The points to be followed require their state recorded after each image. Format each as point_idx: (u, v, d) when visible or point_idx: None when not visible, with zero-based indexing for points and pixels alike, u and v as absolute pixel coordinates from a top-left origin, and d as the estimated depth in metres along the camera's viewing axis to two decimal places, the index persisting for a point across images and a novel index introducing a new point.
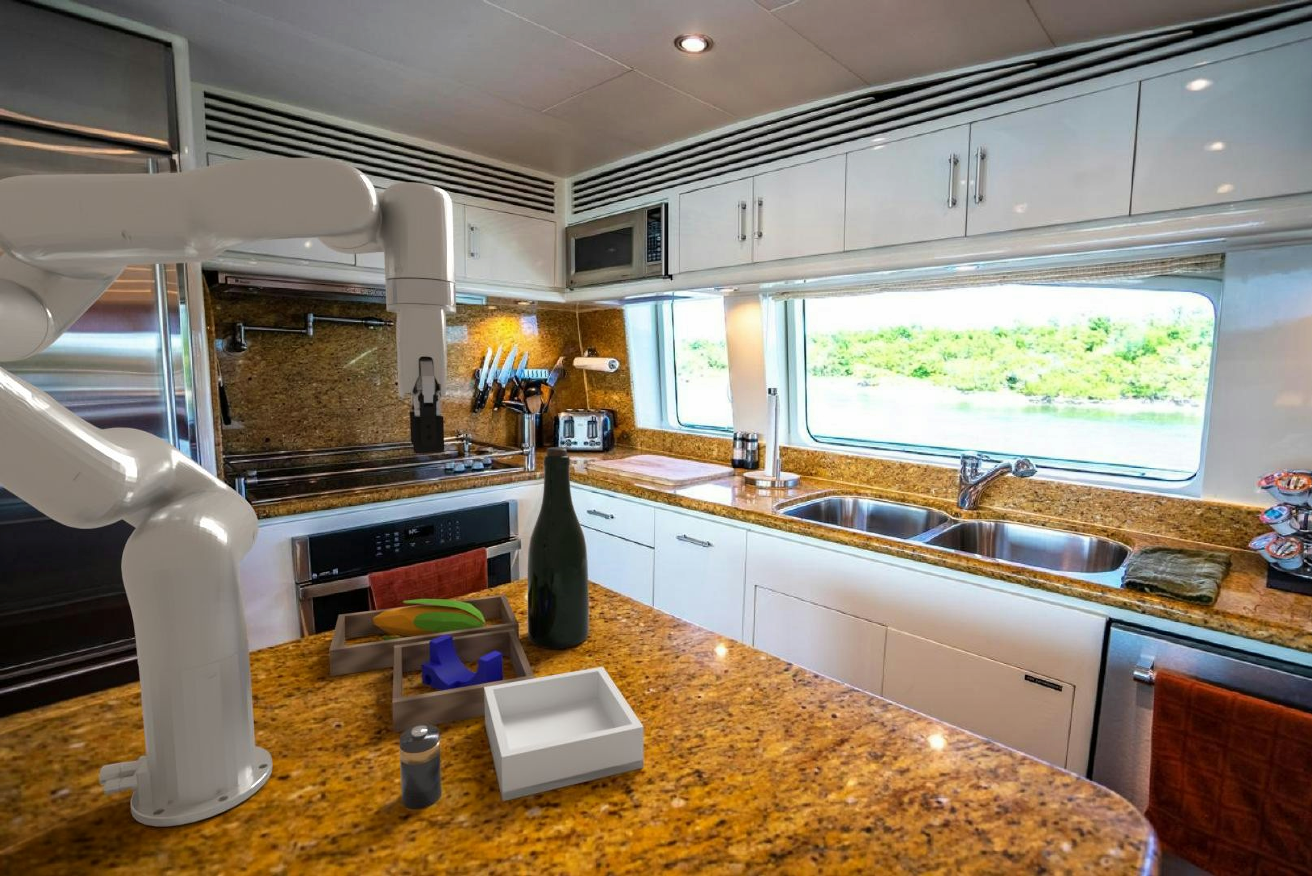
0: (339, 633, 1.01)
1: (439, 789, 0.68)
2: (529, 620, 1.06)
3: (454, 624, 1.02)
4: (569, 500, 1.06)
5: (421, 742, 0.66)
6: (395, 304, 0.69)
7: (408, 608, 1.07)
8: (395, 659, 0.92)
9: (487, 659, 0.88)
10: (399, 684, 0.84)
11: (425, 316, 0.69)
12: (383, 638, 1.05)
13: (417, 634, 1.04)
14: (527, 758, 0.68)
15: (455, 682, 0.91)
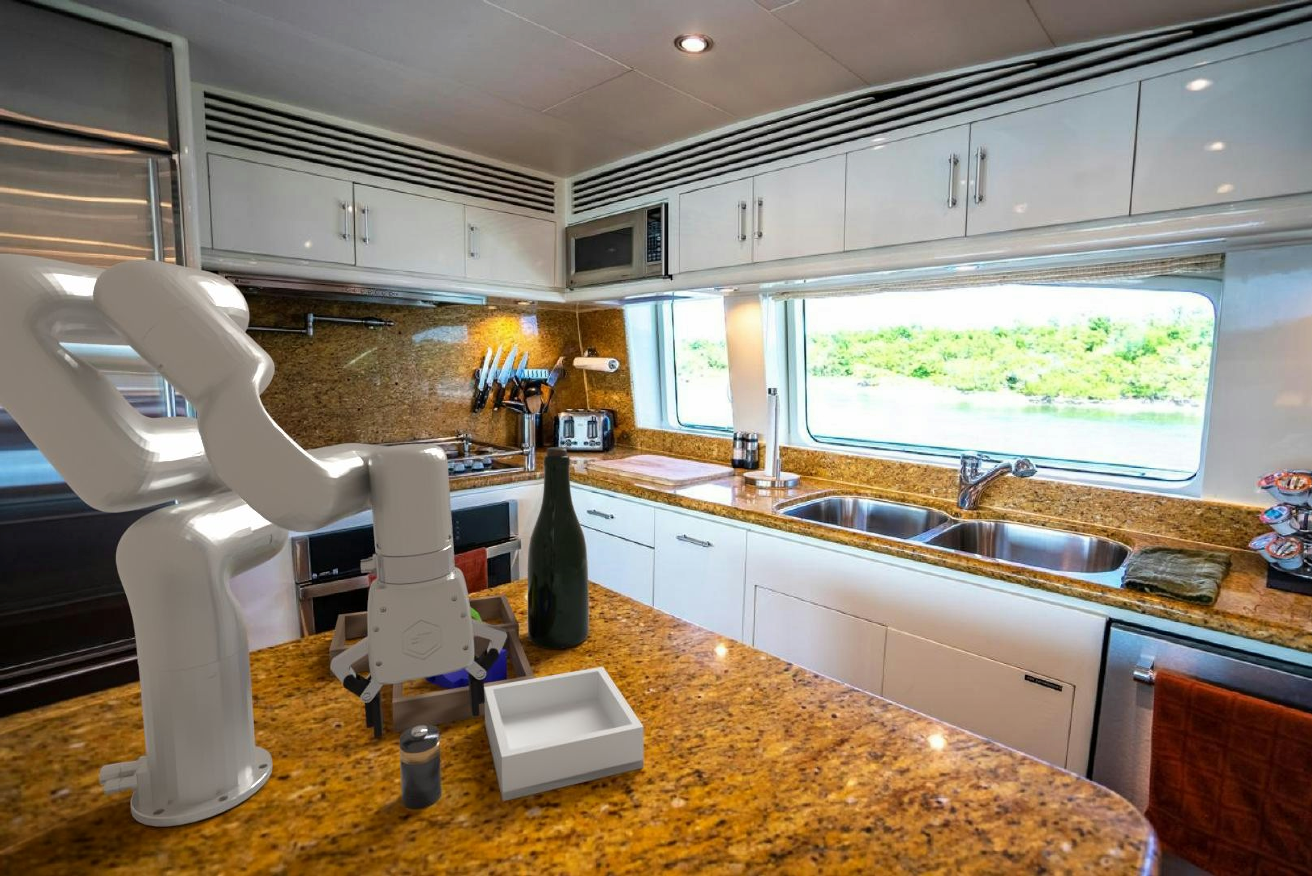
0: (339, 633, 1.01)
1: (439, 789, 0.68)
2: (529, 620, 1.06)
3: None
4: (569, 500, 1.06)
5: (421, 742, 0.66)
6: (441, 576, 0.64)
7: None
8: None
9: None
10: (399, 684, 0.84)
11: None
12: None
13: None
14: (527, 758, 0.68)
15: (459, 680, 0.91)
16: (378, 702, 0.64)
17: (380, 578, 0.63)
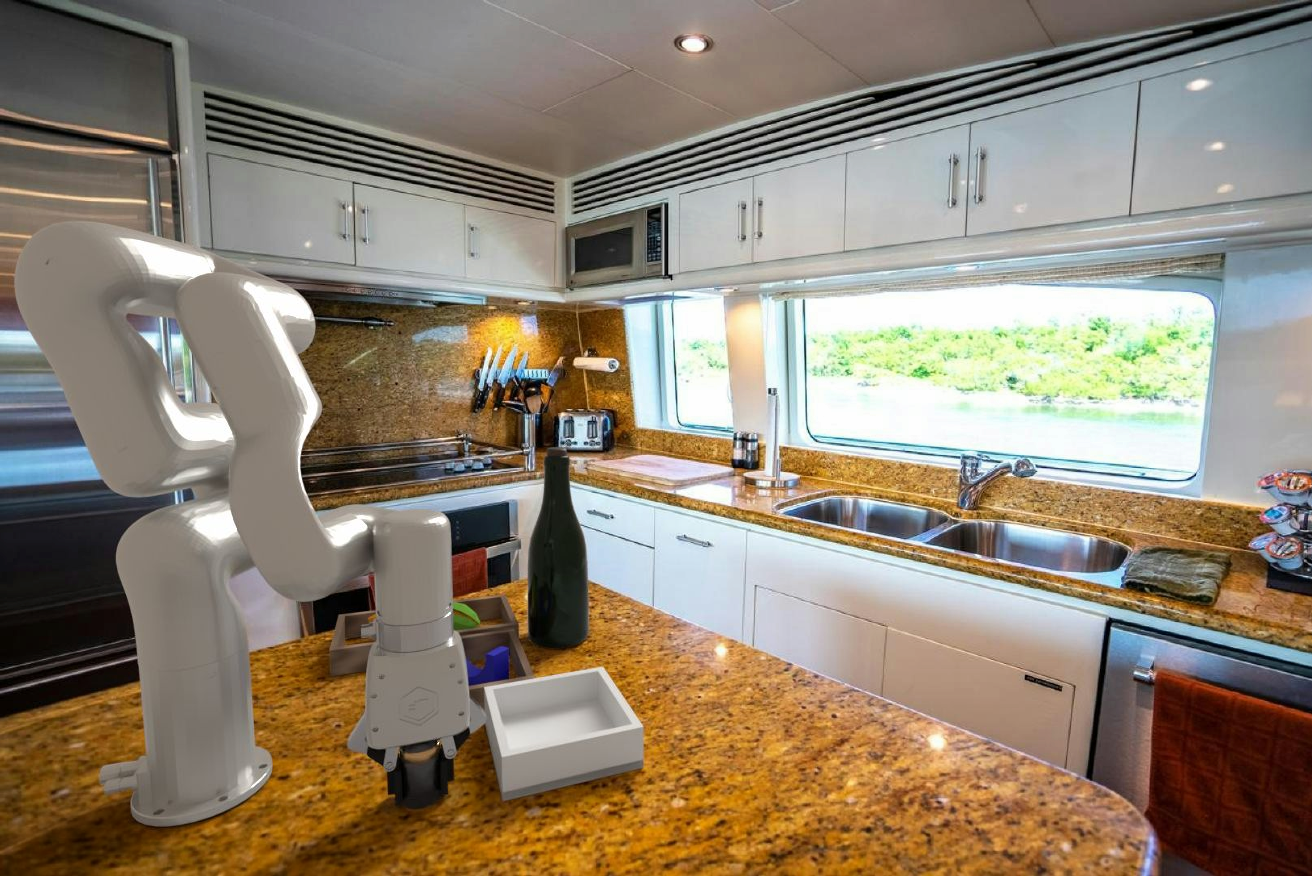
0: (339, 633, 1.01)
1: (439, 789, 0.68)
2: (529, 620, 1.06)
3: None
4: (569, 500, 1.06)
5: (421, 742, 0.66)
6: (440, 644, 0.65)
7: None
8: None
9: (494, 654, 0.89)
10: None
11: None
12: None
13: None
14: (527, 758, 0.68)
15: None
16: (400, 771, 0.66)
17: (380, 644, 0.64)
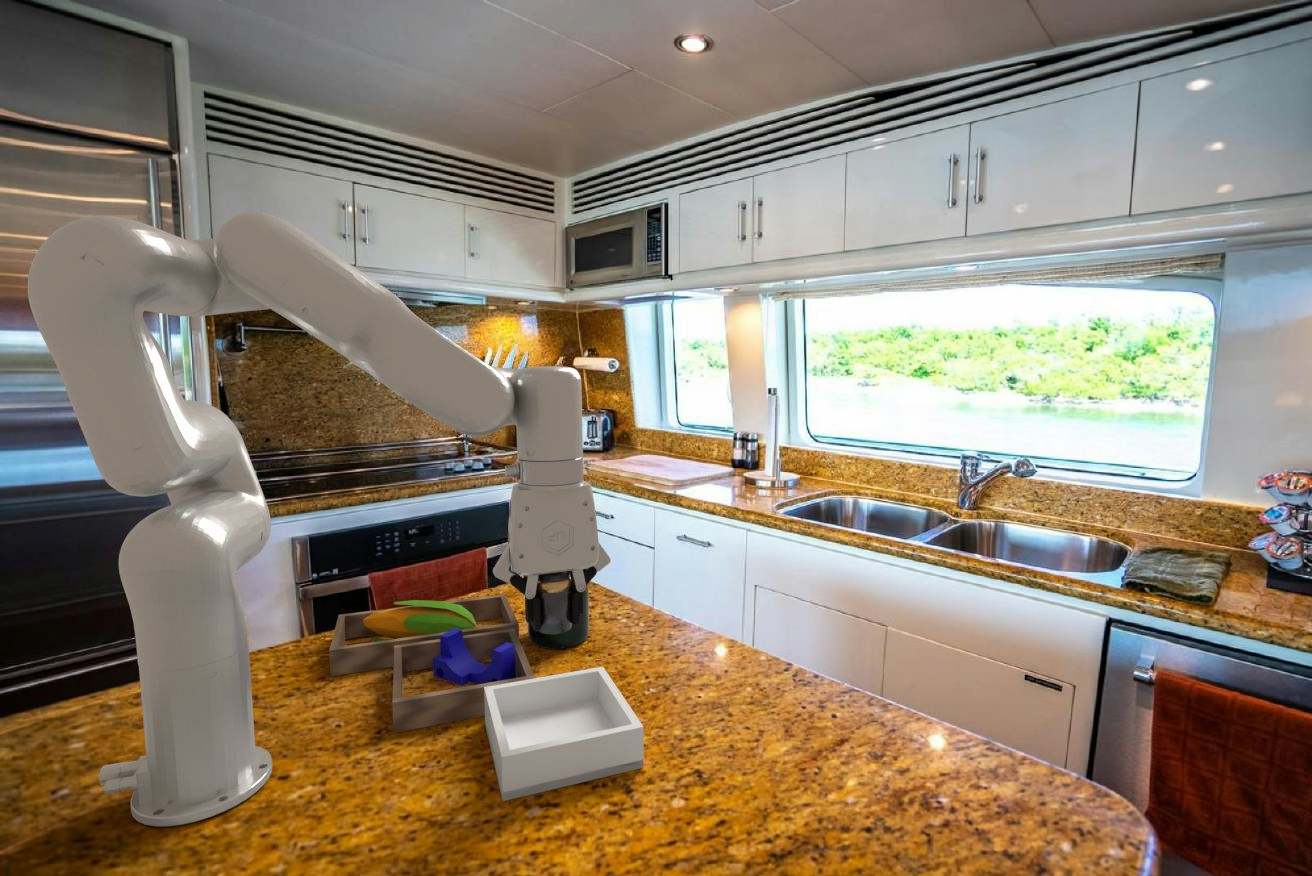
0: (339, 633, 1.01)
1: (570, 620, 0.75)
2: None
3: (444, 626, 1.02)
4: None
5: (557, 574, 0.74)
6: (576, 483, 0.72)
7: (398, 609, 1.06)
8: (395, 659, 0.92)
9: (501, 650, 0.91)
10: (399, 684, 0.84)
11: None
12: (373, 640, 1.04)
13: (407, 636, 1.04)
14: (527, 758, 0.68)
15: (468, 674, 0.93)
16: (539, 599, 0.73)
17: (523, 481, 0.71)
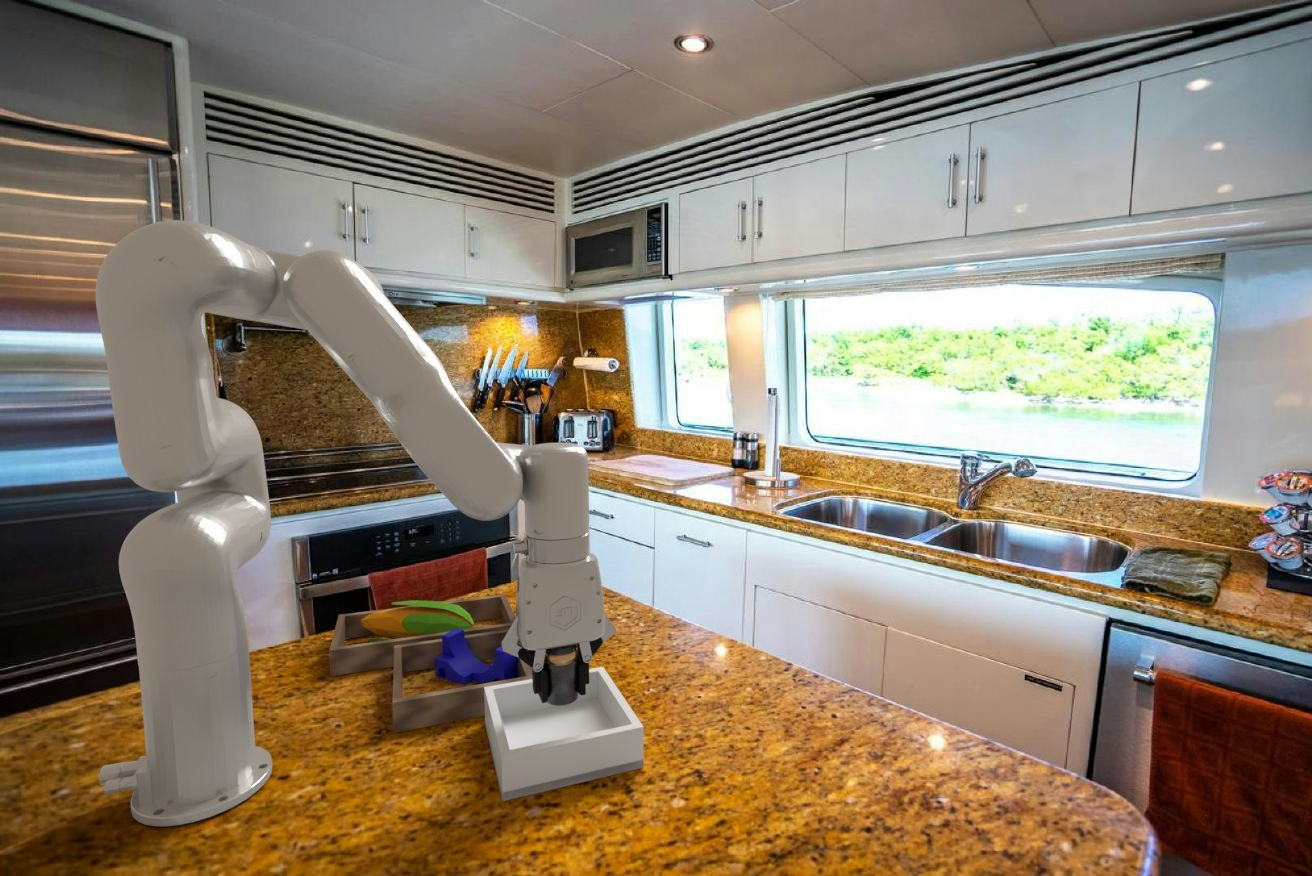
0: (339, 633, 1.01)
1: (577, 690, 0.77)
2: None
3: (442, 626, 1.02)
4: None
5: (564, 646, 0.75)
6: (583, 559, 0.74)
7: (396, 610, 1.06)
8: (395, 659, 0.92)
9: None
10: (399, 684, 0.84)
11: None
12: (371, 640, 1.04)
13: (405, 636, 1.04)
14: (527, 758, 0.68)
15: (470, 674, 0.93)
16: (546, 672, 0.75)
17: (531, 558, 0.73)
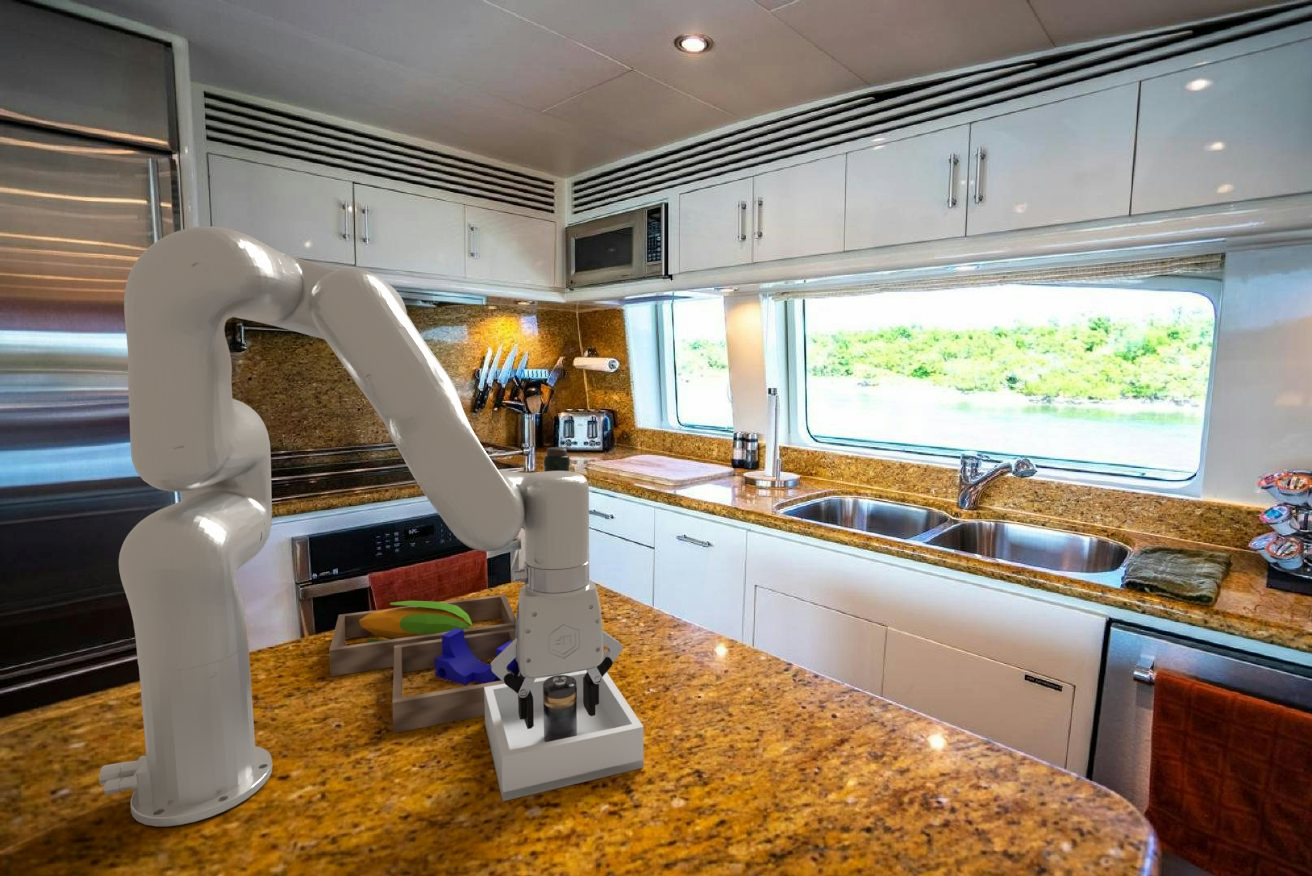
0: (339, 633, 1.01)
1: (576, 730, 0.77)
2: None
3: (440, 626, 1.01)
4: None
5: (564, 689, 0.75)
6: (582, 587, 0.74)
7: (394, 610, 1.06)
8: (395, 659, 0.92)
9: None
10: (399, 684, 0.84)
11: None
12: (369, 640, 1.04)
13: (403, 636, 1.03)
14: (527, 758, 0.68)
15: (471, 674, 0.93)
16: (532, 697, 0.74)
17: (531, 587, 0.73)
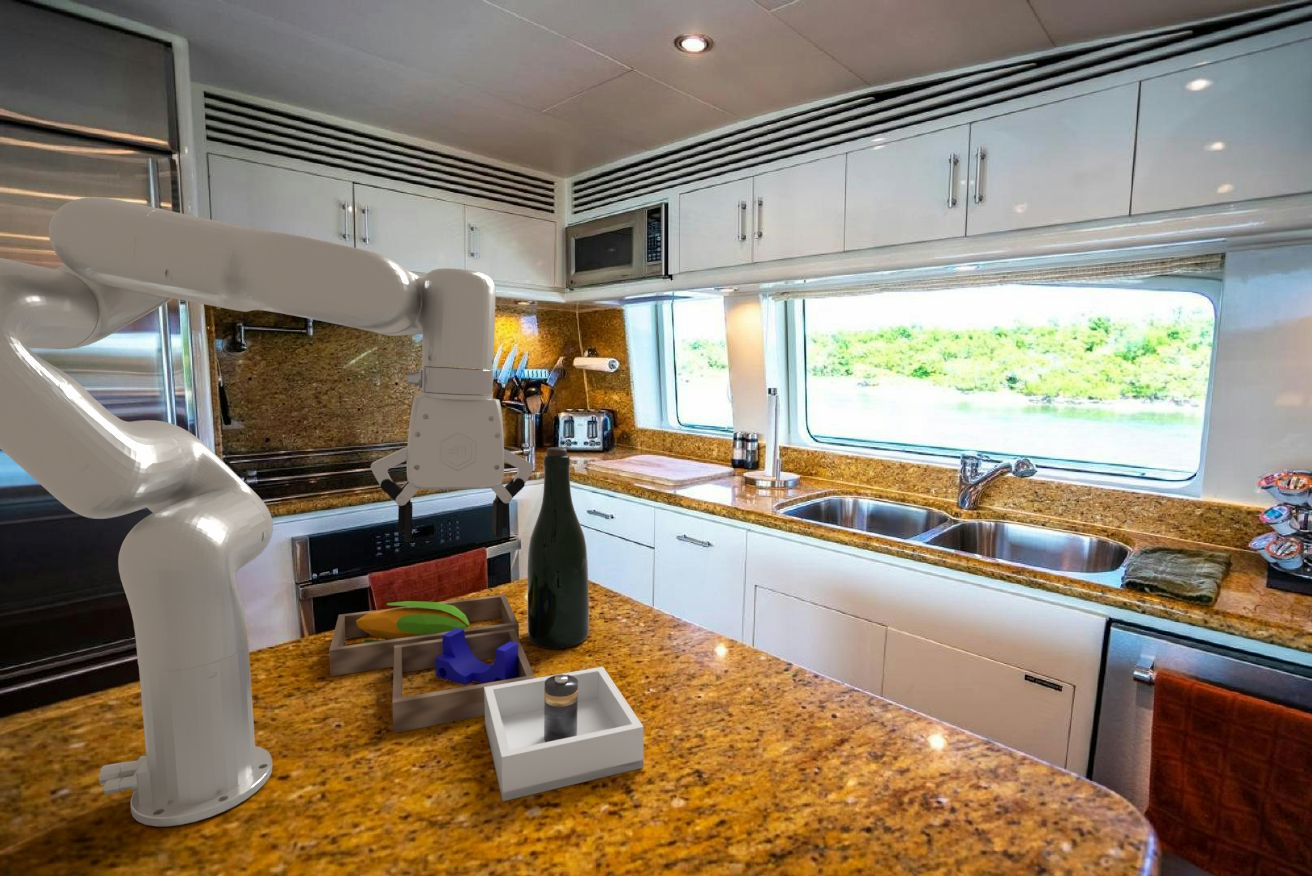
0: (339, 633, 1.01)
1: (576, 729, 0.78)
2: (529, 620, 1.06)
3: (437, 627, 1.01)
4: (569, 500, 1.06)
5: (566, 687, 0.76)
6: (481, 395, 0.68)
7: (391, 610, 1.05)
8: (395, 659, 0.92)
9: (505, 649, 0.91)
10: (399, 684, 0.84)
11: None
12: (366, 641, 1.04)
13: (400, 637, 1.03)
14: (527, 758, 0.68)
15: (471, 674, 0.93)
16: (411, 507, 0.68)
17: (425, 389, 0.67)
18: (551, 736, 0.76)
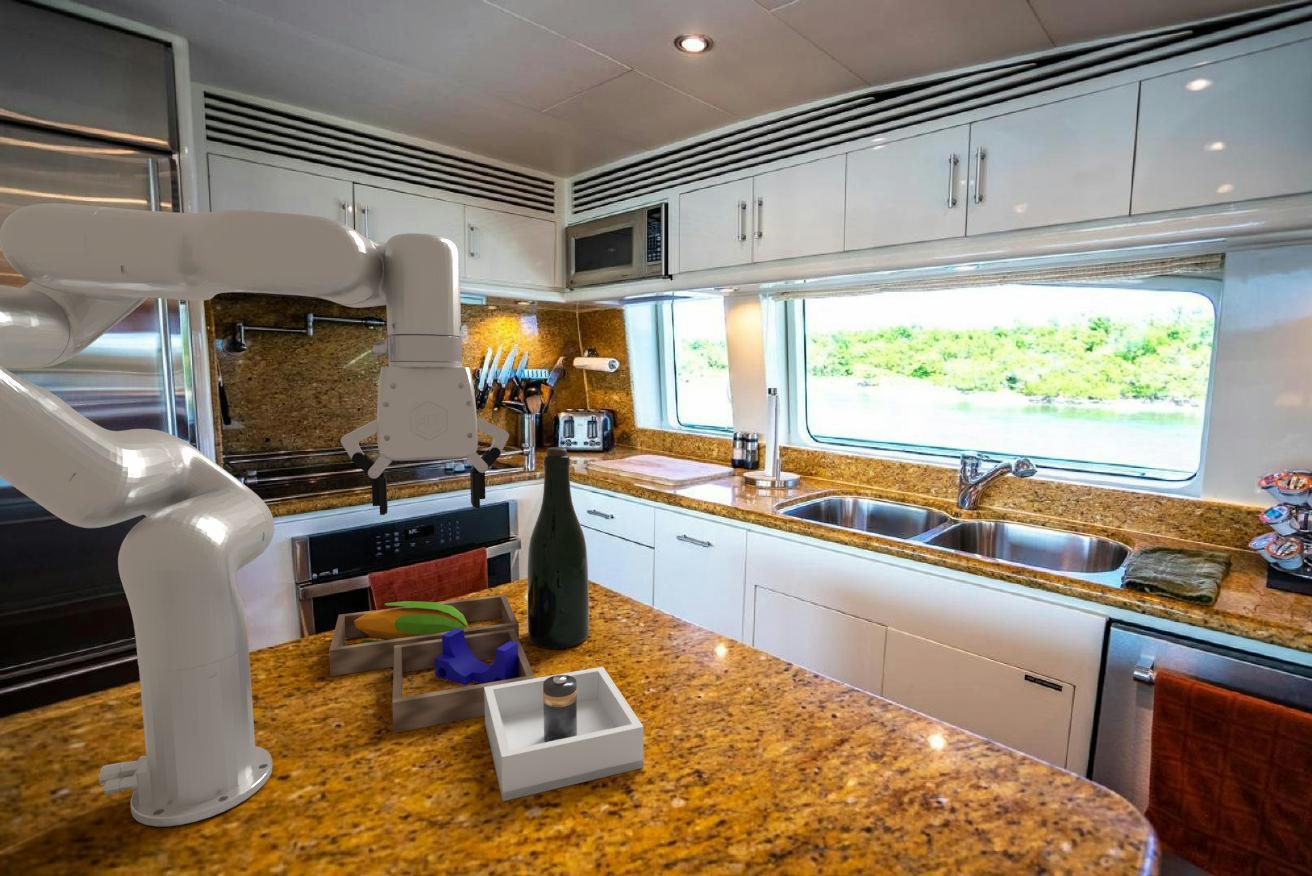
0: (339, 633, 1.01)
1: (576, 729, 0.78)
2: (529, 620, 1.06)
3: (435, 627, 1.01)
4: (569, 500, 1.06)
5: (565, 687, 0.76)
6: (449, 362, 0.67)
7: (389, 611, 1.05)
8: (395, 659, 0.92)
9: (504, 649, 0.91)
10: (399, 684, 0.84)
11: None
12: (364, 641, 1.04)
13: (398, 637, 1.03)
14: (527, 758, 0.68)
15: (471, 674, 0.93)
16: (384, 480, 0.67)
17: (391, 358, 0.66)
18: (551, 737, 0.76)
